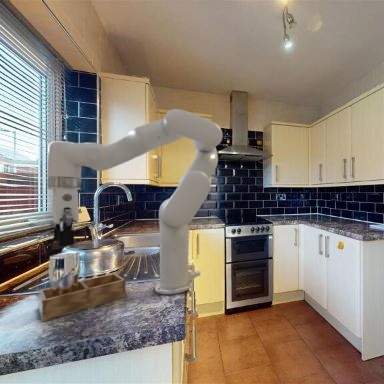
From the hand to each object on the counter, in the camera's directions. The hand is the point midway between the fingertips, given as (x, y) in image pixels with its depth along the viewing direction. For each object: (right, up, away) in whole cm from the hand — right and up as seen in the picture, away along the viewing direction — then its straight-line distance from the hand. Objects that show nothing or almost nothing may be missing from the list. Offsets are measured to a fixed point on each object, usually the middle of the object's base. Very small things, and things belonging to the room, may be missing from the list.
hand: (63, 243), depth 67 cm
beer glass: (0, -19, 0) cm, 19 cm away
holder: (+4, -19, +3) cm, 20 cm away
